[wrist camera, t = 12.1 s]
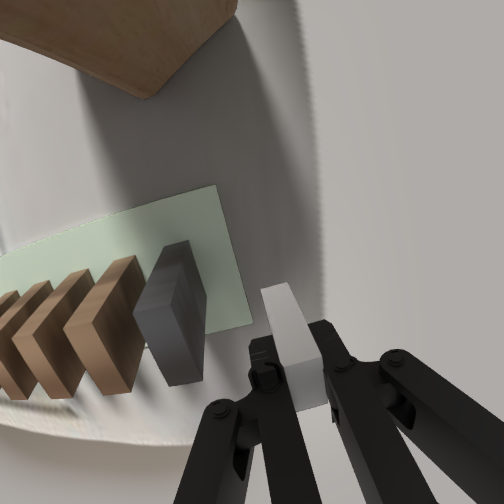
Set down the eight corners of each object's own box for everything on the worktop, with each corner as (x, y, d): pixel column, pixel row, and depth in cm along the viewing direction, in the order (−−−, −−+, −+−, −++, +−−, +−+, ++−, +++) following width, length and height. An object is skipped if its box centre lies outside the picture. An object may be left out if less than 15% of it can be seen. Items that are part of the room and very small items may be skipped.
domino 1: (34, 284, 24) (-26, 345, 14) (49, 279, 24) (-11, 342, 14) (56, 330, 25) (11, 399, 16) (72, 327, 25) (27, 399, 16)
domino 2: (69, 273, 24) (11, 338, 14) (88, 268, 24) (32, 334, 14) (92, 322, 25) (51, 399, 16) (111, 319, 25) (72, 398, 16)
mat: (-23, 266, 23) (-25, 268, 22) (215, 184, 23) (215, 184, 23) (26, 363, 27) (25, 365, 26) (252, 320, 27) (253, 323, 27)
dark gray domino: (163, 246, 24) (132, 313, 14) (188, 239, 24) (170, 304, 14) (183, 302, 25) (169, 386, 16) (207, 296, 26) (202, 380, 16)
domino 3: (113, 260, 24) (62, 328, 14) (135, 254, 24) (91, 322, 14) (135, 313, 25) (103, 395, 16) (156, 308, 25) (131, 392, 16)
